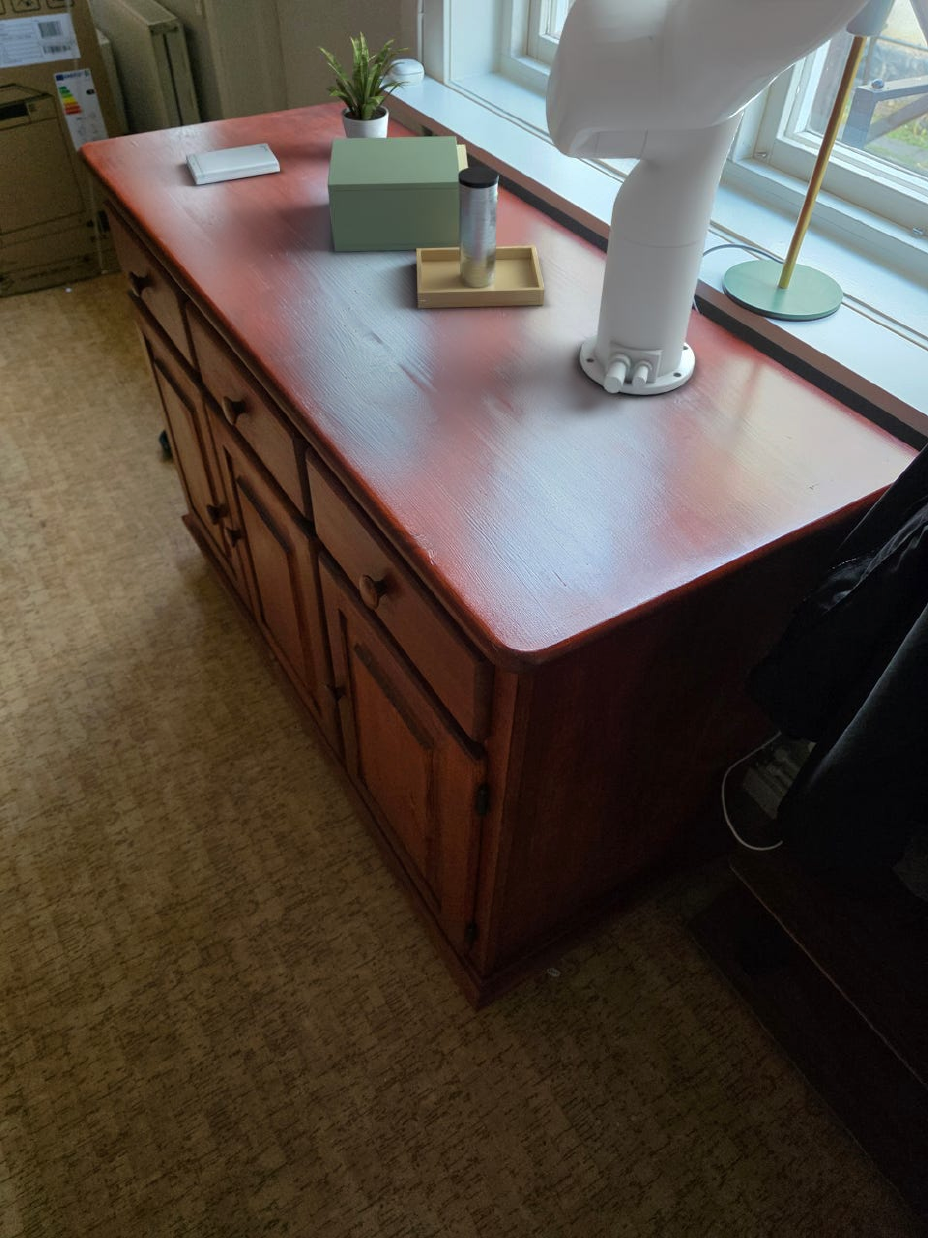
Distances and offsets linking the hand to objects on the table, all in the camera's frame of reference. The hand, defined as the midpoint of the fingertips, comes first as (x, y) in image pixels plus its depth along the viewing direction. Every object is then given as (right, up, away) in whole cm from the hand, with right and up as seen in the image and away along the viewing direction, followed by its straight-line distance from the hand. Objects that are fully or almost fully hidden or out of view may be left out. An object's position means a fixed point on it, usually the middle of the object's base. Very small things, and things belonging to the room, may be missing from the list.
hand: (646, 45), depth 94 cm
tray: (-18, -19, +17) cm, 31 cm away
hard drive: (-54, +7, +40) cm, 68 cm away
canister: (-18, -18, +17) cm, 30 cm away
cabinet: (-28, -7, +27) cm, 40 cm away
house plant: (-33, +10, +42) cm, 55 cm away
